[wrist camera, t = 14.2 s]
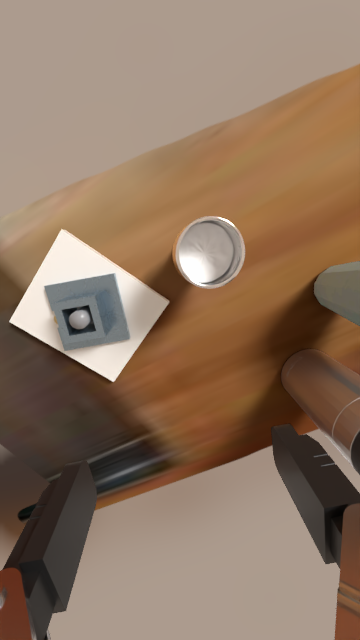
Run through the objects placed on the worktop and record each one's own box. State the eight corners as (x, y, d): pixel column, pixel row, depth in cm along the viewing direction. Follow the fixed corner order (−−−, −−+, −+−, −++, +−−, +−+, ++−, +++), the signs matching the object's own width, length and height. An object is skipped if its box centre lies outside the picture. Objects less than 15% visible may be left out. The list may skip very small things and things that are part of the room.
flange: (115, 272, 36) (107, 275, 32) (130, 337, 39) (125, 348, 34) (47, 285, 36) (29, 290, 32) (67, 348, 39) (53, 362, 34)
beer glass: (224, 264, 38) (258, 271, 24) (183, 284, 39) (192, 303, 24) (205, 220, 37) (230, 199, 22) (162, 242, 37) (160, 235, 23)
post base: (169, 300, 39) (169, 309, 33) (115, 377, 42) (106, 399, 36) (65, 230, 36) (44, 225, 30) (15, 319, 39) (-15, 331, 33)
